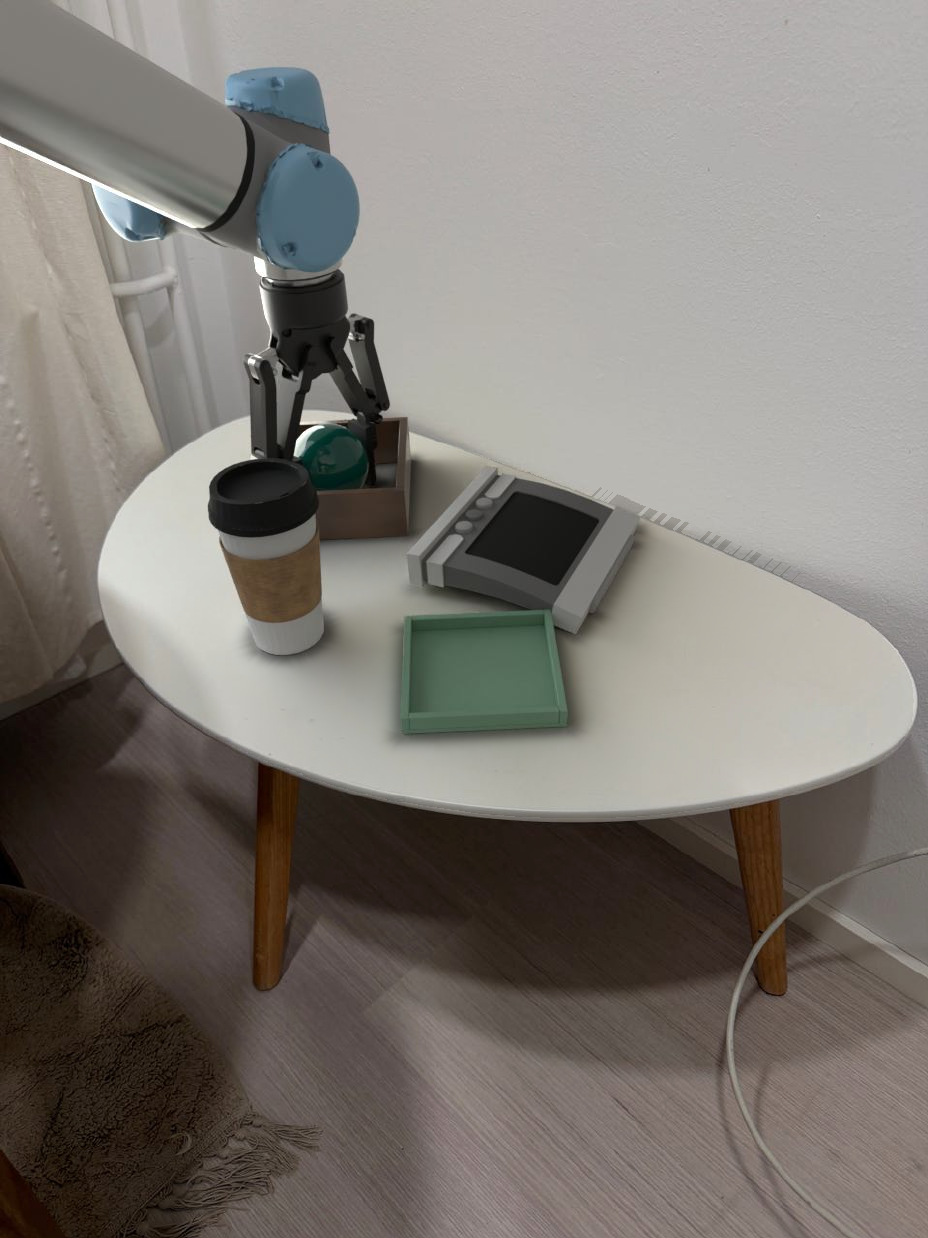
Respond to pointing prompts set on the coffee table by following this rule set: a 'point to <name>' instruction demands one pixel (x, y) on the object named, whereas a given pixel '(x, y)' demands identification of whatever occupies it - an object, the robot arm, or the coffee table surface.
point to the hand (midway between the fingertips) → (333, 496)
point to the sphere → (333, 457)
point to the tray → (481, 672)
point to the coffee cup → (272, 549)
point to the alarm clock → (526, 546)
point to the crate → (370, 491)
